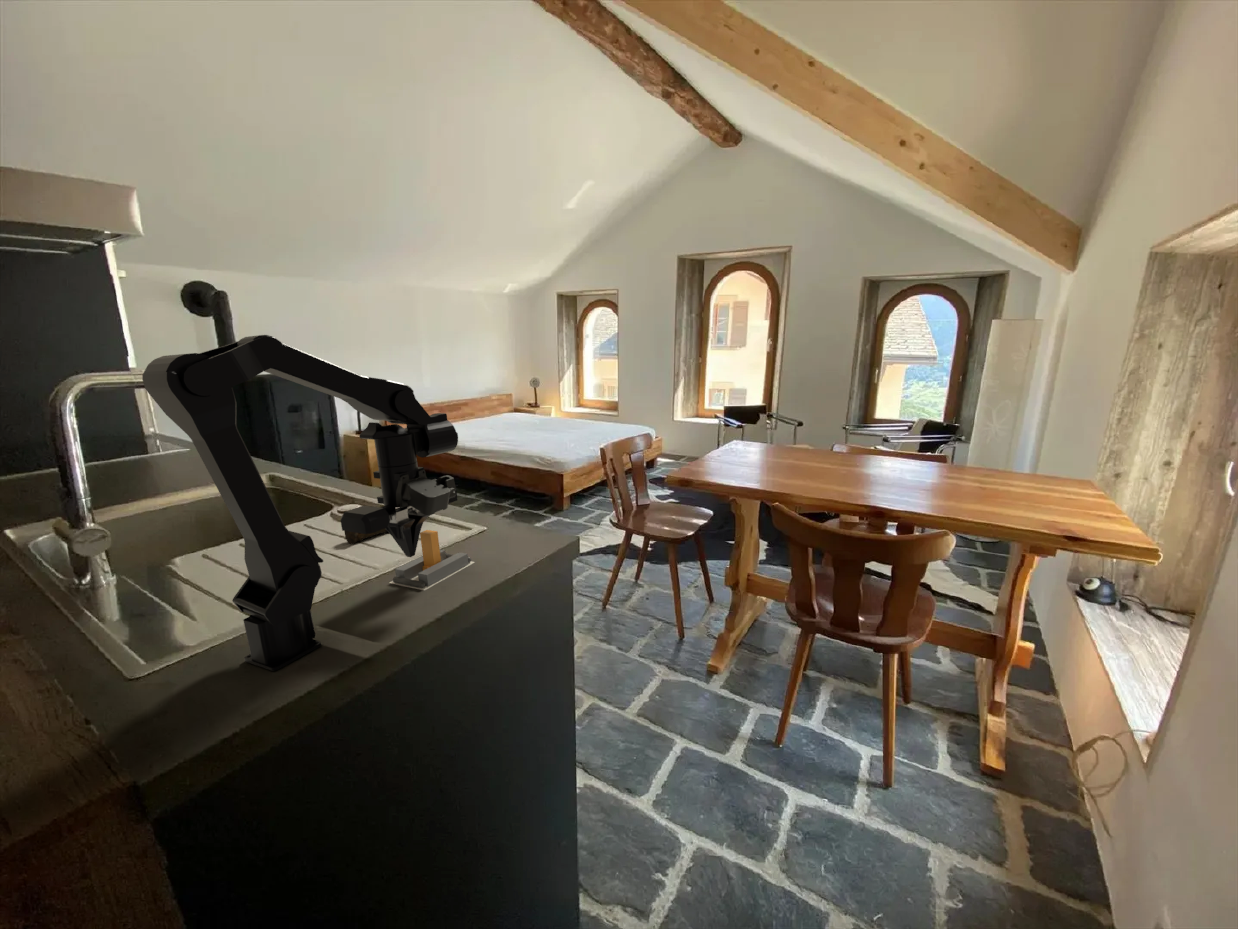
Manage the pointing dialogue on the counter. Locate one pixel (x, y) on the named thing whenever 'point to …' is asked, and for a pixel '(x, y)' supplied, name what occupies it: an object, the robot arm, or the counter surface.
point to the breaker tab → (430, 548)
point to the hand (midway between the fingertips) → (410, 556)
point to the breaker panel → (430, 571)
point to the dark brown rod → (359, 536)
